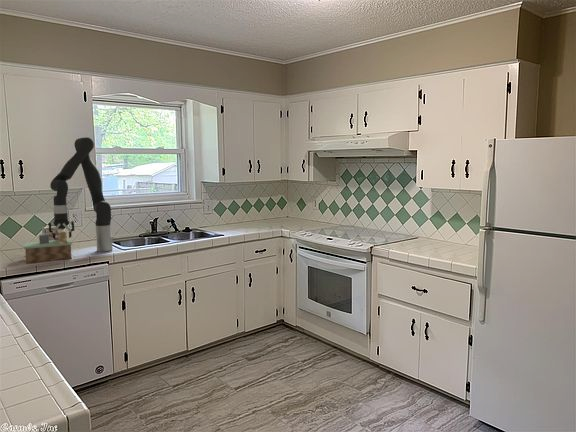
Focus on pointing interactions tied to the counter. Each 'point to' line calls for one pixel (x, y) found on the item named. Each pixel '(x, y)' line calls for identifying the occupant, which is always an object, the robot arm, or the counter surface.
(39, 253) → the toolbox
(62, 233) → the tan block
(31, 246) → the lid
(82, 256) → the counter surface
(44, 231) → the candy bar box
